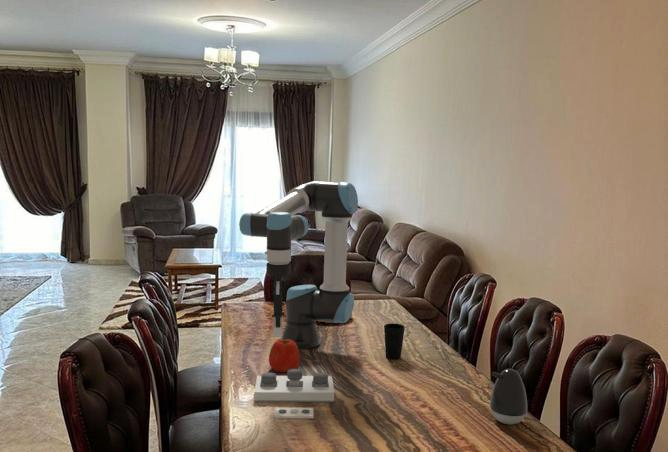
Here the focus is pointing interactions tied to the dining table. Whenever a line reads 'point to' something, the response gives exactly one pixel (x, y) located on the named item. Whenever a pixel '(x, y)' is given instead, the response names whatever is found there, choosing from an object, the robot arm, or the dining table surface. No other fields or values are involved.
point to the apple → (284, 355)
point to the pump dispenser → (508, 397)
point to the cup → (393, 340)
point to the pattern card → (294, 413)
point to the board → (294, 391)
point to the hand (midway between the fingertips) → (277, 336)
